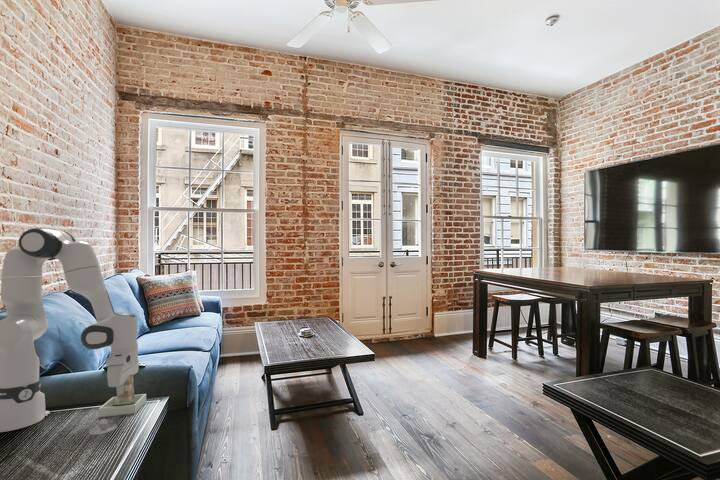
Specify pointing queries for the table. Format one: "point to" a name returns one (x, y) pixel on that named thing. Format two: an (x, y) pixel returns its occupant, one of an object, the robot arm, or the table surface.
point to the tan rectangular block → (127, 391)
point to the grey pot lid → (103, 427)
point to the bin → (121, 410)
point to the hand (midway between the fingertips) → (124, 391)
